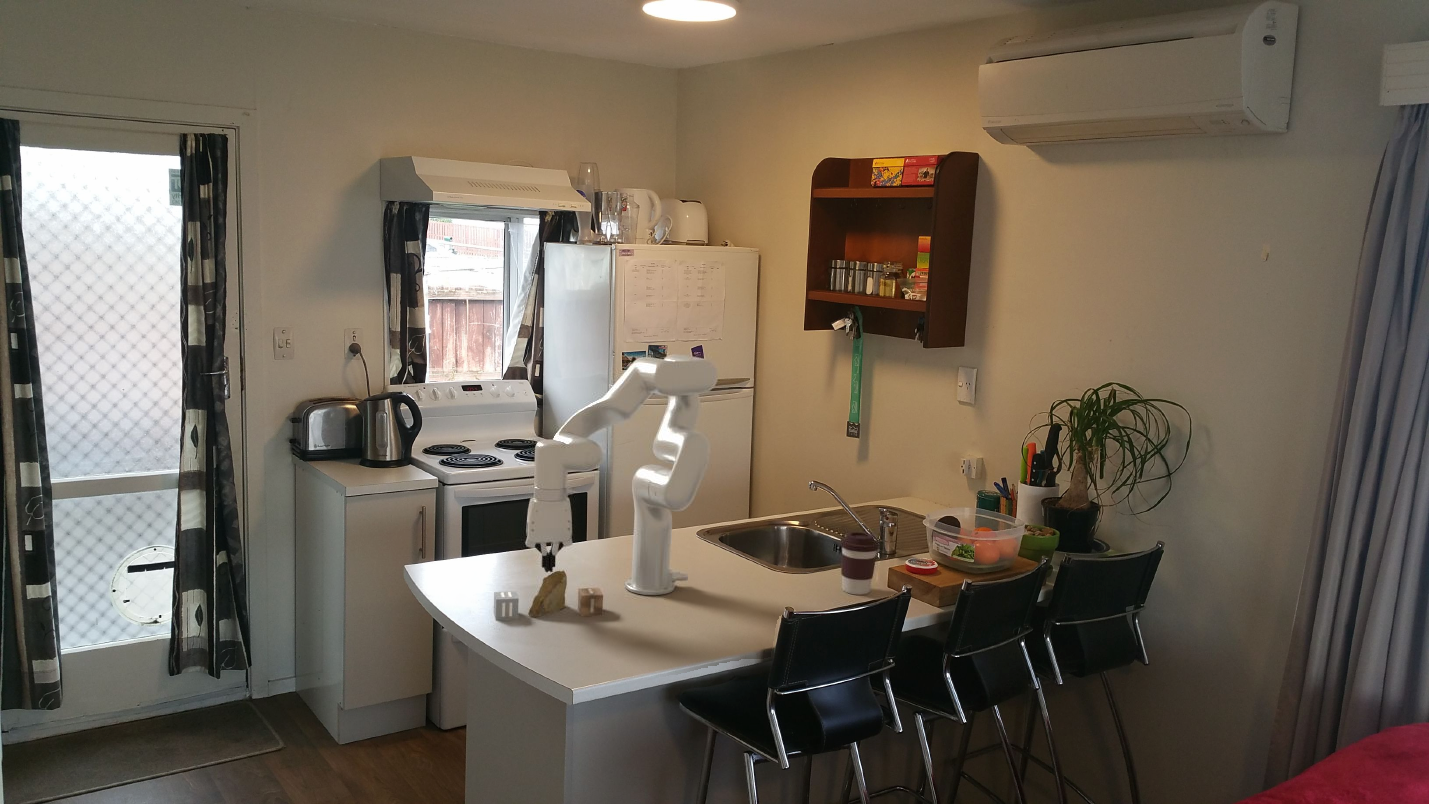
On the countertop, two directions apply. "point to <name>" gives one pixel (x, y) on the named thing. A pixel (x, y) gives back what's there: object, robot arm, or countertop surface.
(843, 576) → the coffee cup
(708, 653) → the countertop surface
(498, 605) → the grey block
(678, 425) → the robot arm
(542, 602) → the rock
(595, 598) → the walnut block
